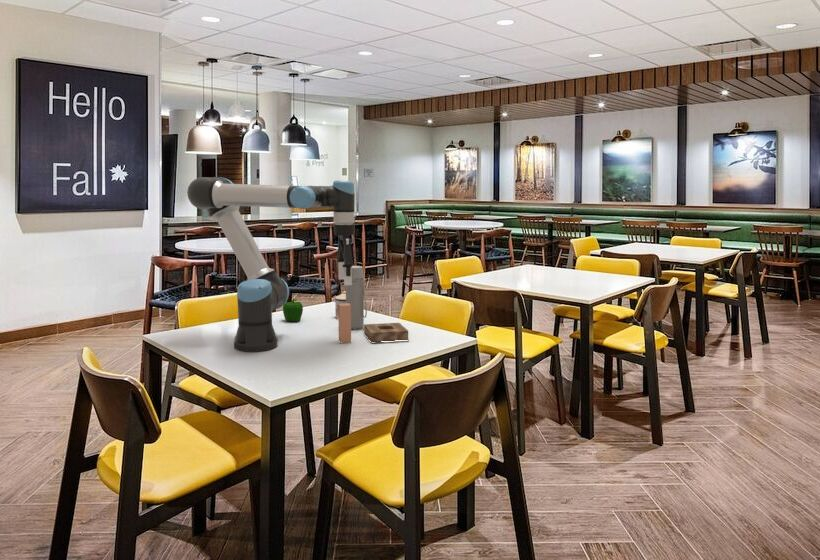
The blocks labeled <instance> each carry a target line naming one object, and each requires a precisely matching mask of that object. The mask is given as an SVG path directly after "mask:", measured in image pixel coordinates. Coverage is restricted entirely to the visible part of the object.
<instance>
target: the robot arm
mask: <svg viewBox="0 0 820 560" xmlns="http://www.w3.org/2000/svg"><path fill="white" fill-rule="evenodd" d="M354 184H355V183H354V182H353V181H352V180H334V181H333V183H332V185H329V186H326V185H279V184H278V185H277V184H273V185H272V184H245V183H244V184H243V183H234V182H232V180H230V179H228V178H226V177H221V176H213V177H210V176H209V177H208V176H207V177H206V176H204V177H203V176H202V177H201V176H200V177H197V178H196V179H195V178H194V180H192V181H191V182H190V183H189V185H188V186H187V191H186V192H187V198H188V200H189V202H190V203H191V205H192V206H194V207H195V208H196V209H199V210H203V211H204V210H205V211H207V213H208V215H209V217H210V219H212V220H214V221H217V223H218V225H219V227H220V229H221V230H222V232H223V234H224V235H225V237H226V240H227V241H228V243H229V245H230V247H231V249H232V251H233V253H234V255H235V256H236V258H237V260H238V262H239V264H240V266H241V268H242V270H243V271H244V273H245V276H246V277H247V279H246V280H244V281H241V282H240V283H239V284H238V286H237V290H236V291H237V292H236V298H237V319H238V320H237V322H238V327H237V330H236V334H235V337H234V341H233V346H234V347H233V348H234V349H235V350H237V351H240V352H251V353H252V352H265V351H269V350H273V349H275V348H277V347H278V345H279V342H278V337H277V335H276V332H275V329H274V326H273V311H275V310H278V309H280V308H281V307H283V304H284V303H285V302H288V300H289V296H290V288H289V286H288V283H287V282H286V280H285V279H283V278H282V277H279V275H278V273H277V272H276V270H275V269H274V268H270V267H269V266H268V263H267V261H266V260H265V257H264V255H263V254H262V252H261V251H260V249H259V247H258V245H257V242H256V241H255V239H254V237H253V235H252V233H251V231H250V230H249V227H248V226H247V224H246V222H245V221H244V219H243V216H242V215H241V212H240V207H256V208H257V207H260V208H261V207H263V208H289V209H290V208H292V209H299V210H300V209H301V210H307V209H311V208H313V209H314V208H333V223H334V225H333V234H334V236H338V237H337V238H338V240H337V242H338V243H337V256H336V259H337V261H338V262H337V263H338V264H337V265H338V267H337V268H338V269H337V270H338V271H337V272H338V281H339V280H343V286H346V285H352V266H354V263H353V262H354V261H353V252H352V239H351V238H350V236H354V235H355V234H356V230H355V229H356V226H355V224H354V223H355V222H356V221H355V218H356V217H357V214H355V200H356V199H355V195H356V192H355V185H354Z"/></svg>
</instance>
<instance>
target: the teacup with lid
mask: <svg viewBox="0 0 820 560" xmlns="http://www.w3.org/2000/svg"><path fill="white" fill-rule="evenodd" d="M334 301H335V302H334V304H335V307H334V309H335V310H334V311H335V312H334V313H335V319H337V320H339V312H338V304H344V303H346V290H343V292H342V293H341V294H339V295H336V296H335V297H334Z"/></svg>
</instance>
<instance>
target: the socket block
mask: <svg viewBox="0 0 820 560" xmlns="http://www.w3.org/2000/svg"><path fill="white" fill-rule="evenodd" d="M363 328H364V329H363V331H364V332H363V334H365V335H366V336H367V337H368V339H369V340H370V341H371V342H381V341H395V340H408V341H409V329H407V328H406V327H405V326H404V325H402V324H401V322H389V323H387V322H386V323H369V324H367V323H364V326H363ZM365 335H364V336H365ZM366 336H365V337H366ZM367 337H366V338H367ZM368 339H367V340H368ZM369 340H368V341H369ZM370 341H369V342H370ZM371 342H370V343H371Z"/></svg>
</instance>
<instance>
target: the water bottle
mask: <svg viewBox="0 0 820 560" xmlns="http://www.w3.org/2000/svg"><path fill="white" fill-rule="evenodd" d="M366 280H367V279H366V278H365V277H364V267H363V266H362V265H361V266H360V265H353V266H352V285H345V291H346V303H349V304H350V305H351V330H353V329H356V330H362V328H364V324H365V323H364V322H365V320H364V318H367V316H368V313H367V312H368V308H367V298H366V290H365V283H366ZM364 307H365V308H364ZM364 312H365V314H364Z"/></svg>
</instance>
